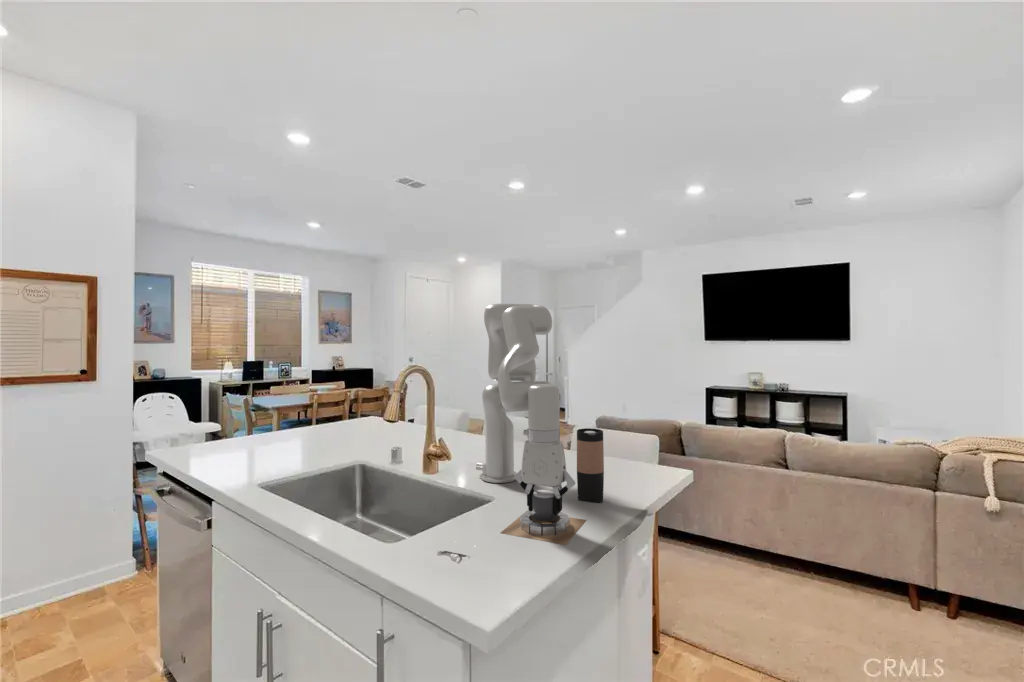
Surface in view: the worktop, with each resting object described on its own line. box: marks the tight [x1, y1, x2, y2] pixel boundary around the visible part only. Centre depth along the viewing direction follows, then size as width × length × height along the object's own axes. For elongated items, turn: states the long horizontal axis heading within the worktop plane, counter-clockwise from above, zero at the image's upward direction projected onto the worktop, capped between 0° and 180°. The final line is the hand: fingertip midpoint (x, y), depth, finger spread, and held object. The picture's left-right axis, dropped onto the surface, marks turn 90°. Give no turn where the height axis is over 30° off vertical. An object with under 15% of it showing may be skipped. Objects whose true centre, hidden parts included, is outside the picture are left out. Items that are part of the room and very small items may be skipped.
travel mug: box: [576, 427, 605, 505], centre depth 134 cm, size 8×8×20 cm
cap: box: [532, 489, 557, 520], centre depth 112 cm, size 6×6×5 cm
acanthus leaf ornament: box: [436, 540, 477, 564], centre depth 101 cm, size 8×7×2 cm
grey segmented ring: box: [519, 510, 570, 536], centre depth 112 cm, size 12×12×2 cm
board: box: [499, 510, 587, 546], centre depth 112 cm, size 16×16×1 cm
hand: (544, 510), depth 113 cm, fingers closed on cap, 5 cm apart
